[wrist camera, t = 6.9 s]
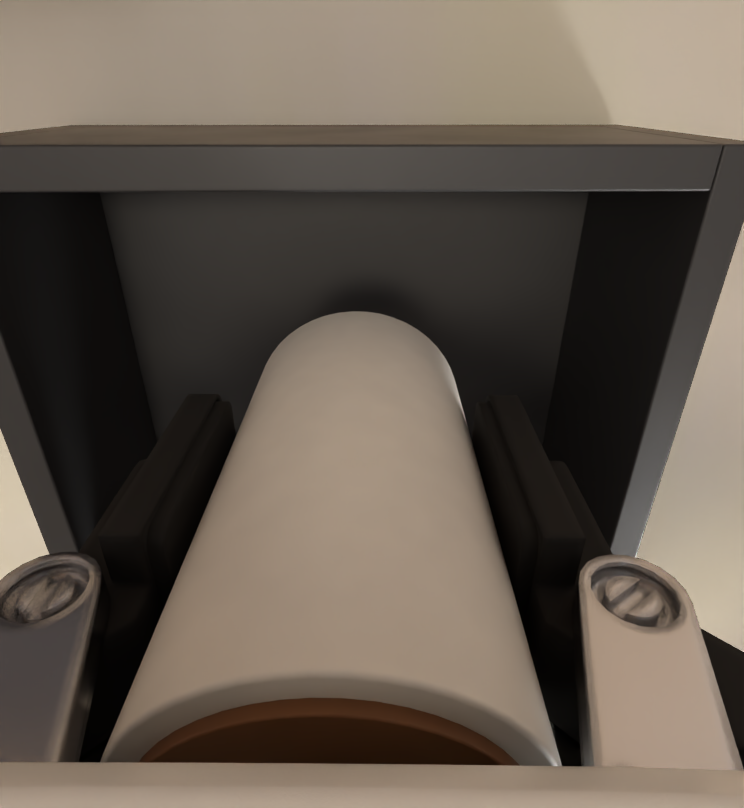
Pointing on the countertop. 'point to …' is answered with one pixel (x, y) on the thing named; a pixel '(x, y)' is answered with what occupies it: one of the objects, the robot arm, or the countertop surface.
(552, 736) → the cream cup
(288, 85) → the countertop surface
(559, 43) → the countertop surface
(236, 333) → the dark open box
